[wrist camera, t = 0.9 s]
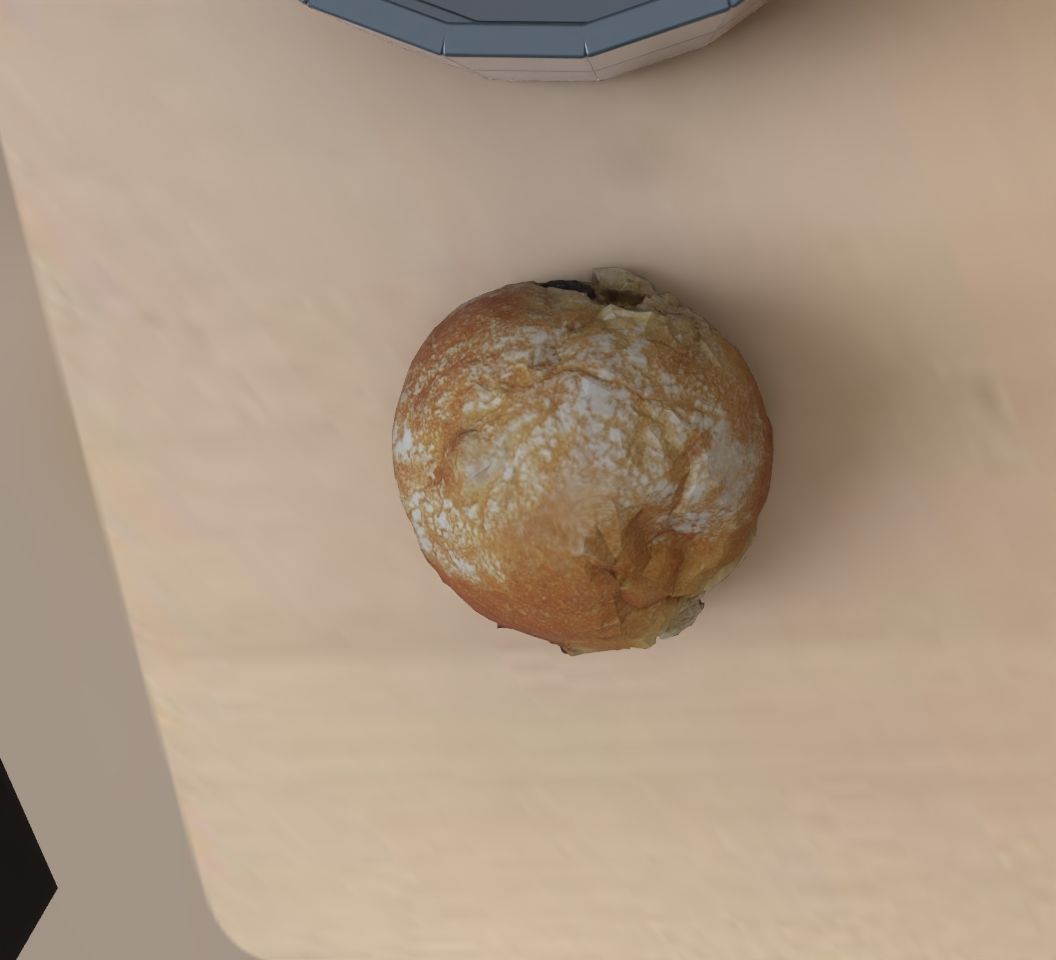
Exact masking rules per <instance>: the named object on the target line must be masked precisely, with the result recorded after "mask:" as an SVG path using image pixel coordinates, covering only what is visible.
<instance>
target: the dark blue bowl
mask: <svg viewBox="0 0 1056 960" xmlns="http://www.w3.org/2000/svg"><path fill="white" fill-rule="evenodd" d="M299 1H300V2H301V3H303V4H305V5H307V6H308V7H309V8H311V9H314V10H316V11H318V12H321V13H323V14H325V15H327V16H330V17H332V18H334V19H336V20H339V21H341V22H343V23H346V24H348V25H350V26H352V27H355V28H357V29H359V30H362V31H364V32H366V33H368V34H371V35H373V36H375V37H377V38H380V39H382V40H384V41H387V42H389V43H391V44H394V45H397V46H399V47H402V48H405V49H407V50H410V51H413V52H416V53H418V54H421V55H424V56H426V57H429V58H432V59H434V60H437V61H440V62H442V63H445V64H448V65H451V66H453V67H456V68H459V69H461V70H464V71H467V72H469V73H472V74H475V75H477V76H480V77H483V78H486V79H489V78H490V79H492V80H531V81H594V82H595V81H597V80H600V81H602V80H605V79H608V78H611V77H614V76H617V75H620V74H623V73H626V72H629V71H632V70H635V69H638V68H641V67H644V66H647V65H650V64H653V63H656V62H659V61H662V60H665V59H668V58H671V57H674V56H678V55H681V54H684V53H687V52H690V51H693V50H696V49H699V48H702V47H704V46H706V44H710V43H712V42H713V41H714V40H716V39H717V38H718V37H720V36H721V35H723V34H724V33H725V32H727V31H728V30H729V29H731V28H732V27H733V26H735V25H736V24H738V23H739V22H740V21H742V20H743V19H744V18H746V17H747V16H749V15H750V14H751V13H753V12H754V11H755V10H757V9H758V8H760V7H761V6H762V5H764V4H765V3H766V2H768V1H769V0H299Z"/></svg>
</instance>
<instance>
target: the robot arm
mask: <svg viewBox="0 0 1056 960" xmlns="http://www.w3.org/2000/svg"><path fill="white" fill-rule="evenodd" d="M57 888H58V887H57V885H56V883H55V880H54V878H53V876H52V874H51V871H50V869H49V867H48V865H47V862H46V861H45V858H44V856H43V853H42V851H41V849H40V847H39V844H38V842H37V840H36V838H35V835H34V833H33V831H32V829H31V827H30V824H29V822H28V820H27V817H26V815H25V813H24V810H23V808H22V806H21V804H20V801H19V799H18V797H17V795H16V793H15V790H14V788H13V786H12V783H11V781H10V779H9V777H8V775H7V772H6V770H5V768H4V765H3V763H2V761H1V759H0V960H16V959H17V957H18V956H19V954H20V952H21V950H22V948H23V947H24V945H25V944H26V942H27V940H28V938H29V936H30V935H31V933H32V931H33V930H34V928H35V926H36V925H37V923H38V921H39V919H40V918H41V916H42V914H43V912H44V911H45V909H46V907H47V906H48V904H49V902H50V900H51V899H52V897H53V895H54V894H55V892H56V890H57Z"/></svg>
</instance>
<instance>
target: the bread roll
mask: <svg viewBox="0 0 1056 960" xmlns="http://www.w3.org/2000/svg"><path fill="white" fill-rule="evenodd" d="M392 450H393V464H394V473H395V478H396V480H397V483H398V487H399V491H400V499H401V501H402V504H403V506H404V508H405V511H406V514H407V516H408V518H409V520H410V521H411V523H412V526H413V529H414V532H415V534H416V536H417V538H418V542H419V545H420V548H421V551H422V552H423V554H424V556H425V558H426V559H427V561H428V563H429V564H430V565H431V566H432V567H433V568H434V569H435V570H436V571H437V572H438V574H439V576H440V578H441V579H442V581H443V582H444V583H445V584H447V585H448V586H450V587H451V588H452V589H453V590H454V591H455V592H456V593H457V594H458V595H459V596H460V597H461V598H462V599H463V600H464V601H465V602H466V603H467V604H468V605H469V606H471V607H472V608H473V609H474V610H475V611H476V612H478V613H480V614H481V615H483V616H484V617H486V618H488V619H489V620H492V621H494V622H496V623H498V625H497V628H510V629H514V630H517V631H520V632H523V633H526V634H529V635H532V636H534V637H537V638H541V639H544V640H547V641H549V642H550V643H552V644H557V645H559V646H560V647H561V650H562V652H563V653H565V654H569V655H570V656H576V655H579V654H583V653H592V652H600V651H608V650H620V649H630V647H635V648H643V649H646V648H649V647H651V646H652V645H654V644H655V643H656V637H657V636H659V637H660V638H661V639H665V638H669V637H672V636H675V635H678V634H679V633H680V632H681V631H682V630H683V629H685V628H686V627H688V626H690V625H692V624H693V623H694V621H695V620H696V617H697V615H698V614H699V613H700V612H701V610H702V609H703V608H704V603H701V600H700V598H701V597H702V596H703V595H704V593H705V591H706V590H709V589H711V588H712V587H714V586H715V585H717V584H718V583H720V582H721V581H723V580H724V579H725V578H726V577H727V576H728V575H729V574H730V573H731V572H732V571H733V570H734V569H735V568H736V567H737V566H738V565H739V564H740V563H741V562H742V561H743V560H744V559H745V558H746V556H745V552H746V550H747V548H748V547H749V546H750V545H751V544H752V543H753V542H754V540H755V538H756V529H757V519H758V516H759V513H760V511H761V509H762V507H763V505H764V503H765V501H766V499H767V495H768V492H769V488H770V481H771V471H772V461H773V433H772V426H771V423H770V420H769V418H768V416H767V415H766V411H765V408H764V404H763V400H762V397H761V394H760V391H759V389H758V386H757V384H756V382H755V380H754V378H753V376H752V374H751V372H750V370H749V368H748V366H747V364H746V362H745V361H744V359H743V357H742V355H741V354H740V353H739V352H738V350H737V349H736V348H735V347H734V346H733V345H732V344H731V343H729V342H728V341H727V340H726V339H725V338H724V337H722V336H721V334H719V333H718V332H717V330H716V329H714V328H712V327H711V325H709V324H708V323H707V322H706V321H705V319H704V318H702V317H701V316H699V315H697V314H696V313H694V312H693V310H692V309H689V308H688V307H685V306H683V305H682V304H681V303H680V302H679V301H678V300H677V299H676V298H675V297H673V296H672V295H671V294H670V293H669V292H667V293H665V294H660V295H658V294H657V293H656V291H655V289H654V287H653V285H652V284H651V283H650V282H649V281H647V280H646V279H644V278H642V277H638V276H635V275H633V274H632V273H630V272H629V271H627V270H623V269H619V268H615V267H612V268H594V269H593V275H592V282H579V281H576V280H572V281H566V280H556V281H549V282H547V283H536V282H535V281H529V282H521V283H517V284H510V285H506V286H504V287H502V288H500V289H497V290H495V291H492V292H488V293H485V294H483V295H481V296H478V297H476V298H474V299H472V300H470V301H468V302H466V303H464V304H462V305H460V306H459V307H458V308H456V309H455V310H454V311H453V312H451V313H450V314H449V315H448V316H447V317H446V318H445V319H444V320H443V321H442V322H441V323H440V324H439V325H438V326H437V327H435V328H434V330H433V331H432V332H431V334H430V335H429V336H428V338H427V339H426V340H425V342H424V343H423V345H422V346H421V348H420V349H419V351H418V353H417V354H416V356H415V358H414V359H413V361H412V363H411V366H410V368H409V371H408V373H407V376H406V379H405V382H404V385H403V389H402V392H401V395H400V399H399V402H398V405H397V408H396V413H395V419H394V425H393V431H392Z"/></svg>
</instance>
